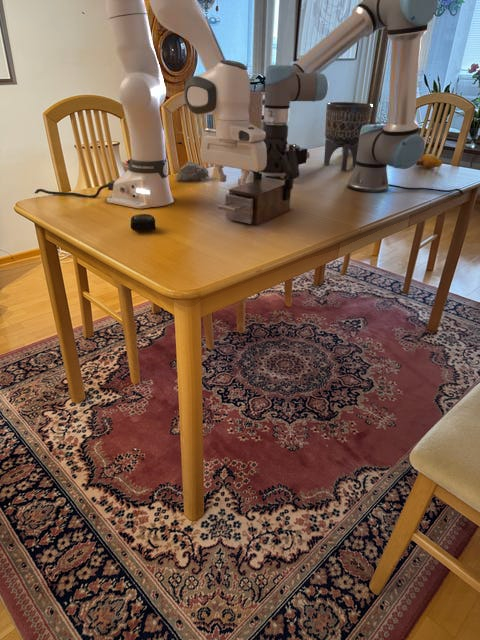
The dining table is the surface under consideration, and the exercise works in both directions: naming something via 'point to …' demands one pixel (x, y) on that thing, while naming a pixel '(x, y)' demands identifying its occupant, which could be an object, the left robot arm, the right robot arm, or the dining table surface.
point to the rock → (192, 172)
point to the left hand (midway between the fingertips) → (232, 183)
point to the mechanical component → (276, 167)
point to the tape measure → (142, 222)
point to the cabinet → (265, 198)
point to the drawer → (239, 208)
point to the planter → (345, 128)
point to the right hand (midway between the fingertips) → (271, 196)
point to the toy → (429, 161)
